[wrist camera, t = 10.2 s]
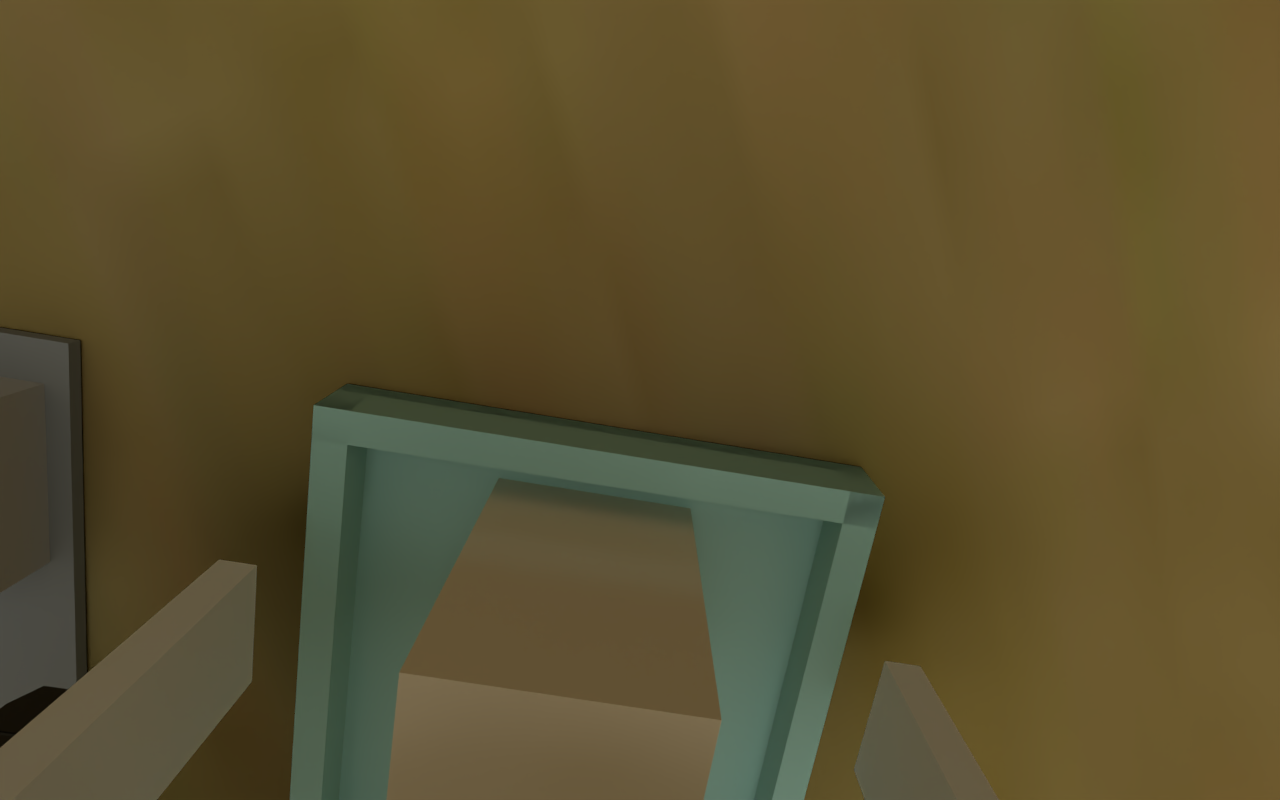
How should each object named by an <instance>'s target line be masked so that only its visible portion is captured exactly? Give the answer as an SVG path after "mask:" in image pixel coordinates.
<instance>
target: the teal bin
mask: <svg viewBox="0 0 1280 800" xmlns="http://www.w3.org/2000/svg"><path fill="white" fill-rule="evenodd" d="M499 478H502V479H509V480H515V481H521V482H528V483H534V484H540V485H546V486H553V487H559V488H565V489H572V490H578V491H584V492H591V493H597V494H603V495H609V496H616V497H622V498H628V499H635V500H641V501H647V502H654V503H660V504H666V505H672V506H679V507H685V508H690V509H691V516H692V522H693V529H694V536H695V543H696V550H697V556H698V563H699V570H700V577H701V583H702V590H703V597H704V604H705V611H706V617H707V624H708V631H709V638H710V645H711V651H712V658H713V665H714V672H715V679H716V685H717V692H718V699H719V706H720V712H721V719H722V721H721V725H720V730H719V734H718V739H717V743H716V747H715V752H714V756H713V761H712V765H711V769H710V774H709V778H708V783H707V787H706V791H705V796H704V800H804V797H805V794H806V790H807V786H808V782H809V779H810V775H811V771H812V767H813V764H814V760H815V756H816V752H817V749H818V745H819V741H820V738H821V734H822V730H823V726H824V723H825V719H826V715H827V711H828V708H829V704H830V700H831V697H832V693H833V689H834V685H835V682H836V678H837V674H838V670H839V667H840V663H841V659H842V656H843V652H844V648H845V644H846V641H847V637H848V633H849V629H850V626H851V622H852V618H853V615H854V611H855V607H856V603H857V600H858V596H859V592H860V588H861V585H862V581H863V577H864V573H865V570H866V566H867V562H868V559H869V555H870V551H871V547H872V544H873V540H874V536H875V532H876V529H877V525H878V521H879V518H880V514H881V510H882V506H883V503H884V499H885V496H884V495H883V494H882V493H881V491H880V490H879V489H878V488H877V486H876V485H875V484H874V483H873V481H872V480H871V479H870V478H869V476H868V475H867V474H866V473H865V471H864V470H863V469H862V468H861V467H858V466H852V465H845V464H839V463H833V462H827V461H821V460H815V459H808V458H802V457H796V456H790V455H784V454H778V453H771V452H765V451H759V450H753V449H747V448H741V447H734V446H728V445H722V444H716V443H710V442H704V441H697V440H691V439H685V438H679V437H673V436H667V435H660V434H654V433H648V432H642V431H636V430H630V429H623V428H617V427H611V426H605V425H599V424H593V423H586V422H580V421H574V420H568V419H562V418H556V417H549V416H543V415H537V414H531V413H525V412H519V411H512V410H506V409H500V408H494V407H488V406H482V405H475V404H469V403H463V402H457V401H451V400H445V399H438V398H432V397H426V396H420V395H414V394H408V393H401V392H395V391H389V390H383V389H377V388H371V387H364V386H358V385H352V384H346V385H344V386H343V387H341V388H340V389H338V390H337V391H335V392H333V393H332V394H330V395H329V396H327V397H326V398H324V399H322V400H321V401H319V402H318V403H316V404H315V405H314V408H313V424H312V441H311V457H310V474H309V490H308V507H307V523H306V540H305V556H304V572H303V589H302V605H301V622H300V638H299V655H298V671H297V688H296V704H295V721H294V737H293V754H292V770H291V786H290V800H386V799H387V789H388V779H389V769H390V759H391V749H392V739H393V729H394V719H395V709H396V699H397V689H398V679H399V672H400V670H401V668H402V666H403V664H404V662H405V660H406V658H407V656H408V654H409V652H410V650H411V648H412V646H413V645H414V643H415V641H416V639H417V637H418V635H419V633H420V631H421V629H422V627H423V625H424V623H425V621H426V619H427V617H428V615H429V613H430V611H431V609H432V607H433V605H434V604H435V602H436V600H437V598H438V596H439V594H440V592H441V590H442V588H443V586H444V584H445V582H446V580H447V578H448V576H449V574H450V572H451V570H452V568H453V566H454V564H455V563H456V561H457V559H458V557H459V555H460V553H461V551H462V549H463V547H464V545H465V543H466V541H467V539H468V537H469V535H470V533H471V531H472V529H473V527H474V525H475V523H476V522H477V520H478V518H479V516H480V514H481V512H482V510H483V508H484V506H485V504H486V502H487V500H488V498H489V496H490V494H491V492H492V490H493V488H494V486H495V484H496V483H497V481H498V479H499Z"/></svg>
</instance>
